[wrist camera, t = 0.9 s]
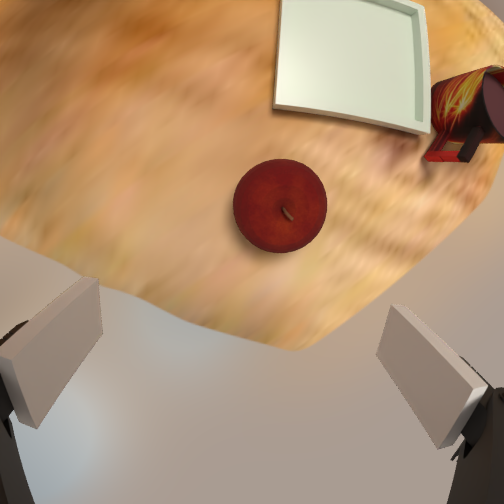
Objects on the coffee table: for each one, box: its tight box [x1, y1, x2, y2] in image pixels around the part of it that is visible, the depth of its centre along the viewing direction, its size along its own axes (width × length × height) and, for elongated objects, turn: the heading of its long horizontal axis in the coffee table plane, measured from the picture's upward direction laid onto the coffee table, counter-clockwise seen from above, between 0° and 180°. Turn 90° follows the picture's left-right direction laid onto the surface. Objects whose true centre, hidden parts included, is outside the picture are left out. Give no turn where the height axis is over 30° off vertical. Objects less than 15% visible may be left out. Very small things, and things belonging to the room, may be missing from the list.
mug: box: [424, 65, 504, 163], centre depth 30 cm, size 10×14×12 cm
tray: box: [273, 0, 431, 135], centre depth 31 cm, size 20×20×3 cm
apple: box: [233, 159, 327, 253], centre depth 33 cm, size 10×10×10 cm
